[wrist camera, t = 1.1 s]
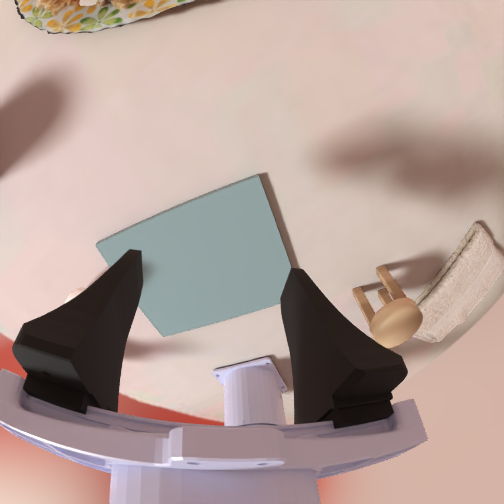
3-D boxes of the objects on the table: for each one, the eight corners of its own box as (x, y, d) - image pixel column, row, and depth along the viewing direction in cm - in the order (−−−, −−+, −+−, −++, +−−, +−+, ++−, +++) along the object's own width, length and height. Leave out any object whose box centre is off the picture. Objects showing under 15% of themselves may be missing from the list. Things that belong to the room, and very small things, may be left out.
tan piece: (393, 292, 29) (420, 335, 23) (353, 308, 30) (375, 354, 24) (392, 258, 27) (425, 300, 21) (348, 274, 27) (375, 322, 21)
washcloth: (389, 322, 33) (398, 338, 30) (472, 215, 25) (488, 227, 22) (430, 336, 36) (438, 350, 34) (499, 251, 28) (511, 262, 26)
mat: (299, 292, 28) (301, 296, 27) (163, 333, 30) (162, 337, 29) (257, 174, 21) (258, 176, 21) (97, 242, 23) (95, 245, 23)
